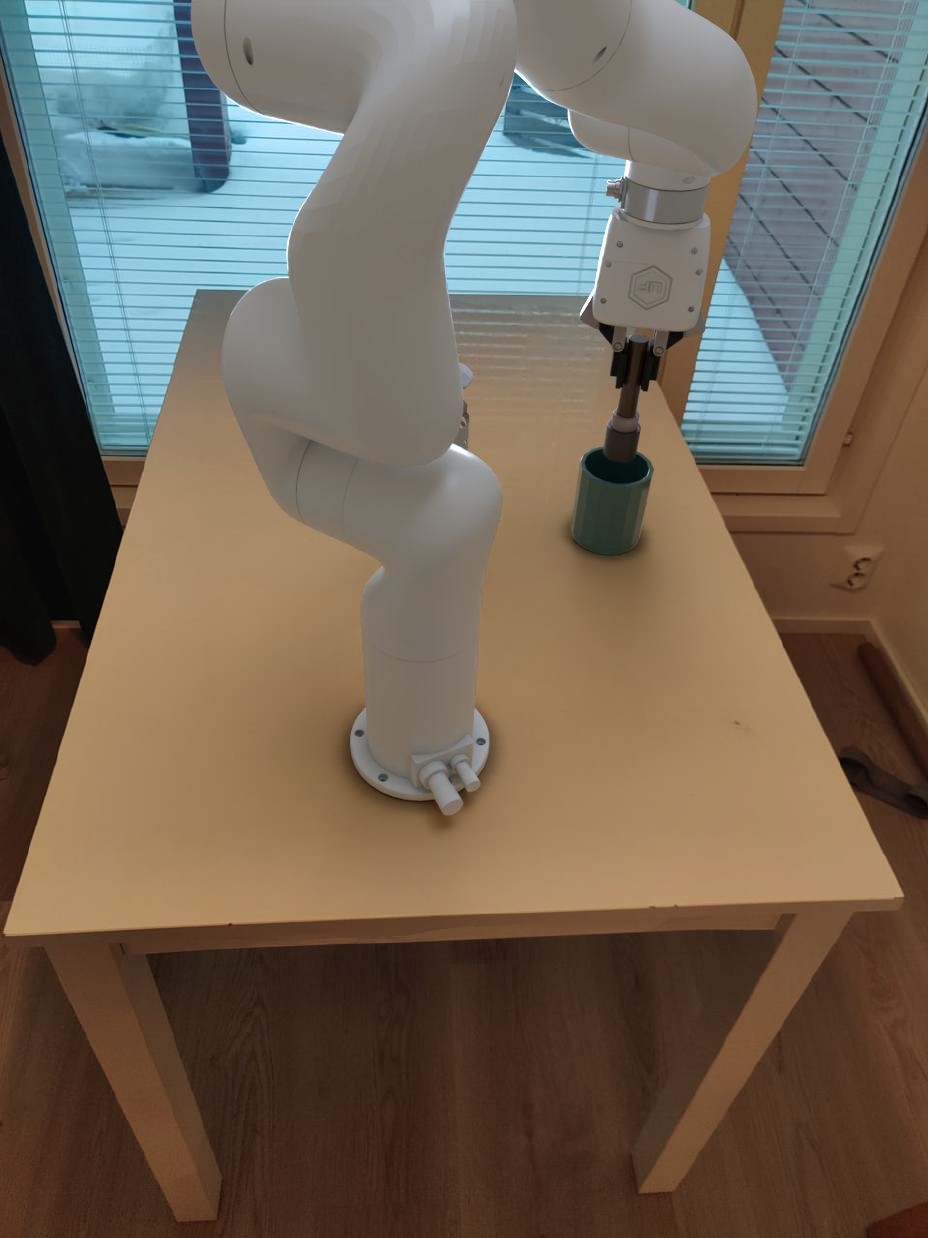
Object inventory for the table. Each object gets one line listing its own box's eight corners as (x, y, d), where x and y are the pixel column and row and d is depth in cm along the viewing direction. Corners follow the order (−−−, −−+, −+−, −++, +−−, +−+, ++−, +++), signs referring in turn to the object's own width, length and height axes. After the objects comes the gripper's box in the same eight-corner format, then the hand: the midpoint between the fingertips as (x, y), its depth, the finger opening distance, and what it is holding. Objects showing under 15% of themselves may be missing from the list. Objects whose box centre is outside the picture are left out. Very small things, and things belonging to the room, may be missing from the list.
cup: (652, 544, 108) (667, 475, 102) (594, 562, 105) (606, 492, 99) (614, 507, 113) (626, 439, 107) (558, 523, 110) (567, 454, 104)
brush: (642, 453, 102) (664, 338, 93) (622, 466, 100) (643, 350, 91) (616, 441, 104) (635, 326, 95) (596, 453, 102) (613, 337, 93)
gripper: (572, 205, 82) (552, 393, 94) (756, 221, 80) (710, 410, 93) (577, 177, 87) (557, 359, 100) (749, 192, 86) (707, 374, 98)
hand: (631, 382), depth 96 cm, fingers closed on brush, 2 cm apart
